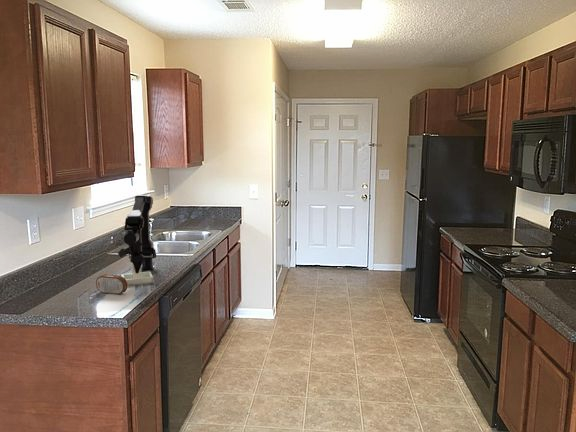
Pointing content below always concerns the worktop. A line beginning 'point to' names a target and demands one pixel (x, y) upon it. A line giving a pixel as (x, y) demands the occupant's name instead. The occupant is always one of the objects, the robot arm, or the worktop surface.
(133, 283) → the tray
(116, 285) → the tin
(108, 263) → the worktop surface
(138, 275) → the cream block
